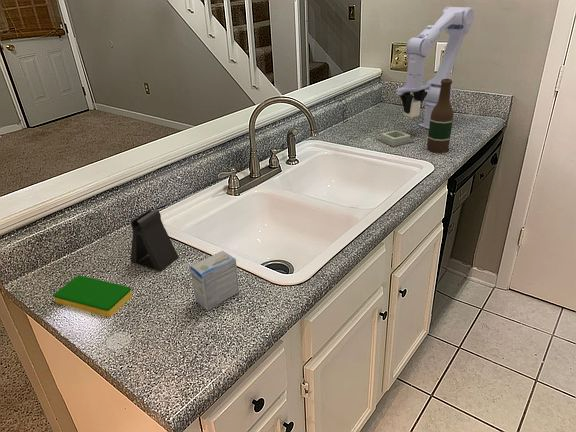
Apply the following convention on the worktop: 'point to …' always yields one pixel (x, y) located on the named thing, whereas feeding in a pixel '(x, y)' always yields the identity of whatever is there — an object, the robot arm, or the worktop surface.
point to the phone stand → (151, 242)
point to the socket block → (395, 138)
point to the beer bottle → (441, 120)
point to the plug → (414, 109)
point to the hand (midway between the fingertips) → (411, 111)
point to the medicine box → (215, 279)
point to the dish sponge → (93, 295)
